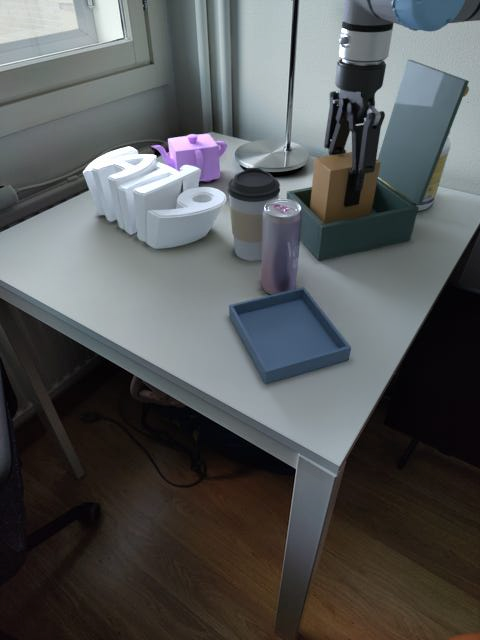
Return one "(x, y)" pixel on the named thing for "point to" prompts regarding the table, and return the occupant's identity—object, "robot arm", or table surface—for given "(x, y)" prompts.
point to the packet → (339, 189)
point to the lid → (419, 128)
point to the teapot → (195, 154)
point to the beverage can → (280, 245)
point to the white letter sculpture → (152, 198)
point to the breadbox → (357, 224)
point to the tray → (288, 334)
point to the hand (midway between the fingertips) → (342, 196)
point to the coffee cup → (250, 209)
